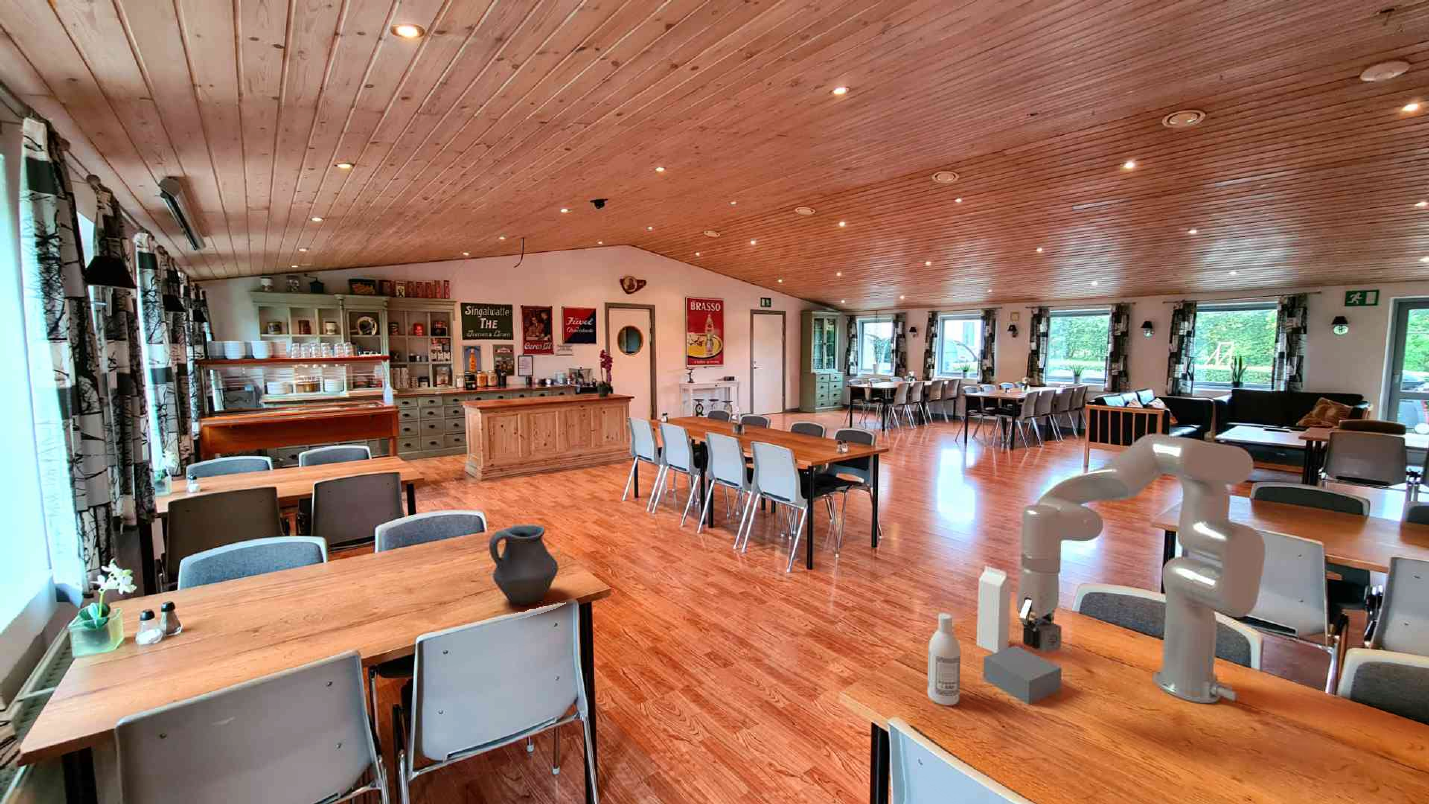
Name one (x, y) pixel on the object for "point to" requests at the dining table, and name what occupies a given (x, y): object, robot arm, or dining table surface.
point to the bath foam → (944, 664)
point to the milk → (993, 610)
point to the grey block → (1022, 674)
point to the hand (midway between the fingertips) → (1037, 641)
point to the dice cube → (1048, 636)
